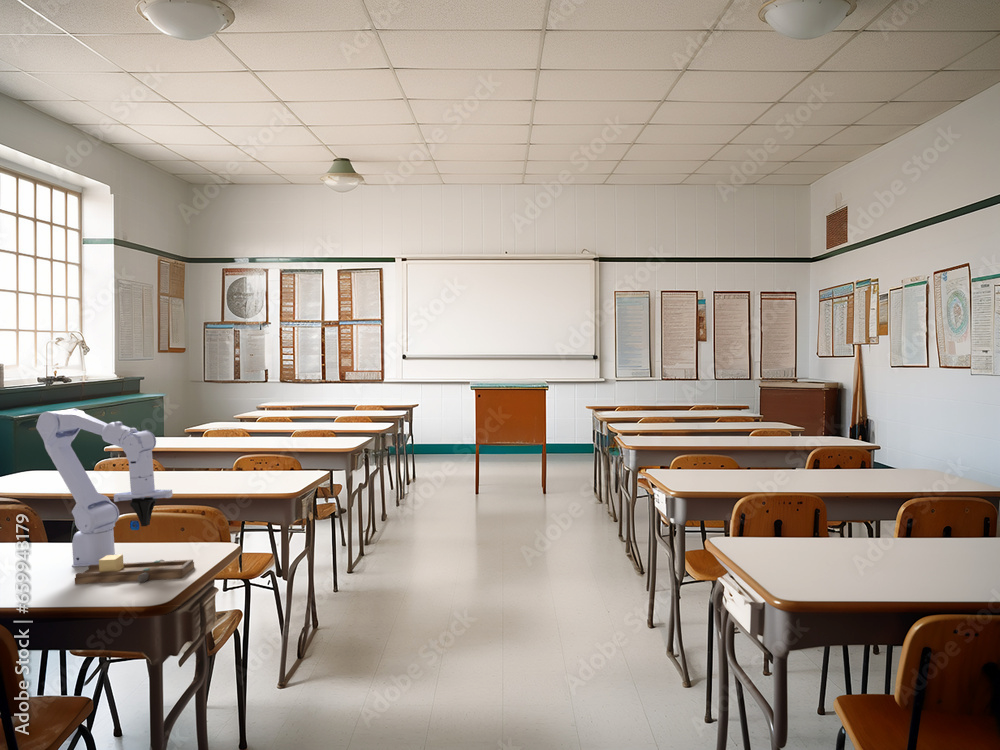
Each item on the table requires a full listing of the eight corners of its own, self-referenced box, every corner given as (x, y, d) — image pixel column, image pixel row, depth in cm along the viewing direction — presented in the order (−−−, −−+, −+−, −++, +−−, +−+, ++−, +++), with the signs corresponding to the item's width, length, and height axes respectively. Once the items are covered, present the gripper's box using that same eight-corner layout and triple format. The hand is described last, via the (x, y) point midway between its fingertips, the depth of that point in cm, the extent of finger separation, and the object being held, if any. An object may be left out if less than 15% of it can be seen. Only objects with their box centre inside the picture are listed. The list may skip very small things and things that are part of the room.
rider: (99, 573, 166) (98, 560, 166) (107, 568, 170) (106, 555, 170) (115, 572, 166) (115, 559, 166) (123, 567, 170) (122, 554, 170)
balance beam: (70, 586, 162) (70, 576, 162) (95, 570, 174) (95, 561, 173) (179, 580, 164) (178, 570, 164) (196, 565, 176) (196, 555, 176)
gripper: (106, 480, 173) (110, 531, 173) (163, 477, 174) (167, 527, 175) (119, 475, 180) (123, 524, 180) (174, 472, 181) (177, 520, 182)
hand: (145, 525), depth 178 cm, fingers closed
